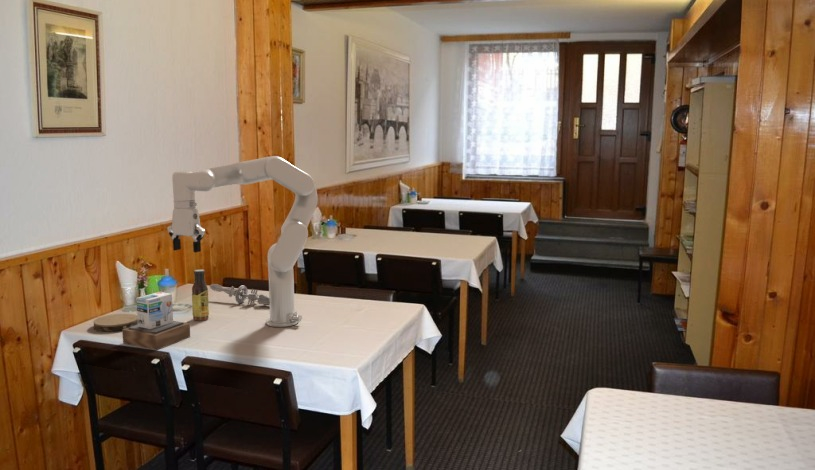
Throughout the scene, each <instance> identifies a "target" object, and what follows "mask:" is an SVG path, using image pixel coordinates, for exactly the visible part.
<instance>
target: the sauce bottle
mask: <svg viewBox="0 0 815 470" xmlns="http://www.w3.org/2000/svg"><path fill="white" fill-rule="evenodd" d="M205 272H206V271H205V269H194V271H193V274H194V283H193V285H192V287H191V305H192V306H191V307H192V316H193V317H192V318H193V320H194V321H196V322H202V321H208V319H209V316H210V306H209V305H210V301H209V300H210V299H209V289H208V286H207V285H208V284H206V280H205V274H206V273H205Z"/></svg>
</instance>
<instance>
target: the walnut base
mask: <svg viewBox="0 0 815 470" xmlns="http://www.w3.org/2000/svg"><path fill="white" fill-rule="evenodd" d="M121 333H122V343H123V344H125V345H131V346H136V347H141V348H147V349H151V350H155V351H156V350H160V349H163V348H164V347H168V346H170V345H172V344H175V343H177V342H180V341H182V340H186V339H188V338H190V337H191V327H190V323H188V322H184V321H177V320H173V323H170V324H166V325H163V326H160V327H156V328H153V329H146V328H142V327H138V324H137V325H134V326H131V327H129V328H126V329H123V330H122V331H121Z"/></svg>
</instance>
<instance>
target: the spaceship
mask: <svg viewBox="0 0 815 470" xmlns="http://www.w3.org/2000/svg"><path fill="white" fill-rule="evenodd" d="M209 289H210V290H212V291H214V292H217V293H218V292H219V293H220V292H224V293H225V294H227V295H228V297H229V298H232V297H234V298H235V299H234V300H235V301H236V303H238V304H241V303H244V302H245V300H247V305H250V306H254V304H255V302H257V303H258V305H263V306H270V304H269V295H264V294H262V293H261V294H259V295H258V294H257V293H258V289H256V288H255V289H254V288H252V289H251V290H250V292H248V291H249V290H248V287H247V286H246V285H240V286H239V287H238V288H235V286H233V285H232V286H231V287H224V286H222V285H220V284H217V283H211V284H210V285H209Z"/></svg>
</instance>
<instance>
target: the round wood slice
mask: <svg viewBox="0 0 815 470" xmlns="http://www.w3.org/2000/svg"><path fill="white" fill-rule="evenodd" d="M137 324H138V317H137V314H132V313H114V314H113V313H112V314H109V315H103V316H100V317H98V318H96V319H94V320H93V330H94V331H96V332H99V333H117V332H118V333H119V332H122V330H123V329H126V328H129V327H131V326H134V325H137Z"/></svg>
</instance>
